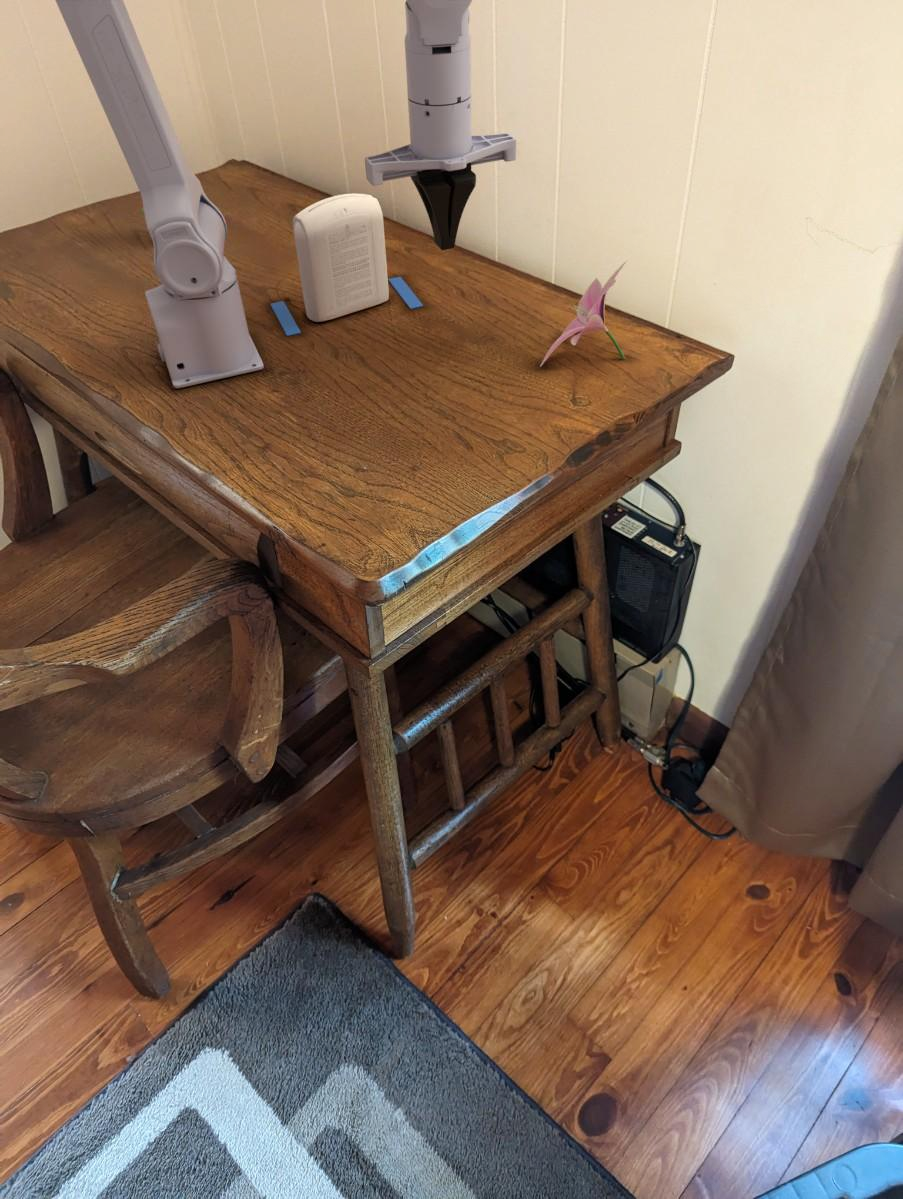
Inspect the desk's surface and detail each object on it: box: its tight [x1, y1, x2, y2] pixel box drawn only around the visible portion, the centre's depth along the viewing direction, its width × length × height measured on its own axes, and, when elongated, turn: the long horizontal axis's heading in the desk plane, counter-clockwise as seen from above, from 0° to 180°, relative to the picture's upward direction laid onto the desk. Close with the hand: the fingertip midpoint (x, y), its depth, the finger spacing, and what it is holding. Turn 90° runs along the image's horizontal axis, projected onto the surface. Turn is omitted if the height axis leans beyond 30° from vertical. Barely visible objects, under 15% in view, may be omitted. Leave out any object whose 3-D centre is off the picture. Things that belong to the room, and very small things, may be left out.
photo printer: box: [292, 193, 390, 323], centre depth 96 cm, size 10×4×12 cm, turn 123°
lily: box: [539, 260, 628, 368], centre depth 89 cm, size 12×12×10 cm
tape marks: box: [269, 276, 424, 337], centre depth 101 cm, size 16×8×1 cm, turn 112°
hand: (444, 245), depth 88 cm, fingers closed
